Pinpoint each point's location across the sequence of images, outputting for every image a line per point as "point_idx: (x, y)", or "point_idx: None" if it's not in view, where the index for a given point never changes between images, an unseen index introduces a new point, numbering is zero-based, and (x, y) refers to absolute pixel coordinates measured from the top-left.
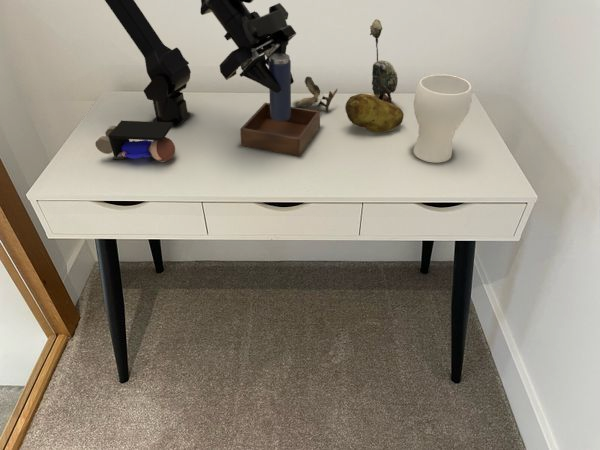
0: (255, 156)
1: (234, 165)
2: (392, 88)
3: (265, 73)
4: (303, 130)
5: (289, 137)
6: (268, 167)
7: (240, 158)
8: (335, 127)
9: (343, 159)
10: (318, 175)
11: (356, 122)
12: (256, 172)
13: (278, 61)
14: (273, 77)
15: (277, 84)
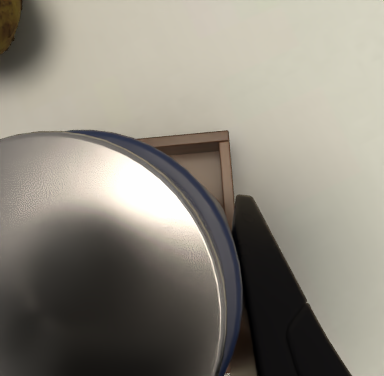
0: None
1: (359, 305)
2: None
3: (330, 355)
4: (161, 146)
5: (230, 170)
6: (323, 202)
7: (314, 307)
8: (20, 116)
9: (187, 21)
10: (298, 50)
11: (19, 16)
12: (364, 223)
13: (213, 248)
14: (255, 269)
15: (251, 222)
